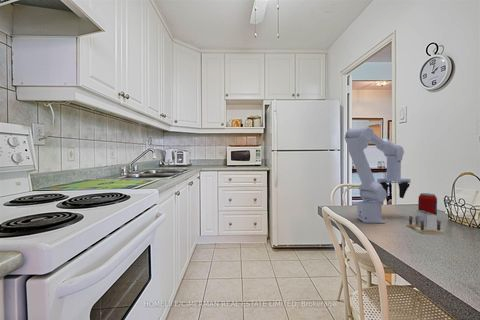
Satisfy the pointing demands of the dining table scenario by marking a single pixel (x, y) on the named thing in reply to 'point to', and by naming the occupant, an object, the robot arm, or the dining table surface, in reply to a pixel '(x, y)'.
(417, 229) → the caddy
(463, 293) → the dining table surface
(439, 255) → the dining table surface
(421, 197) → the beverage can
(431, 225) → the drive
